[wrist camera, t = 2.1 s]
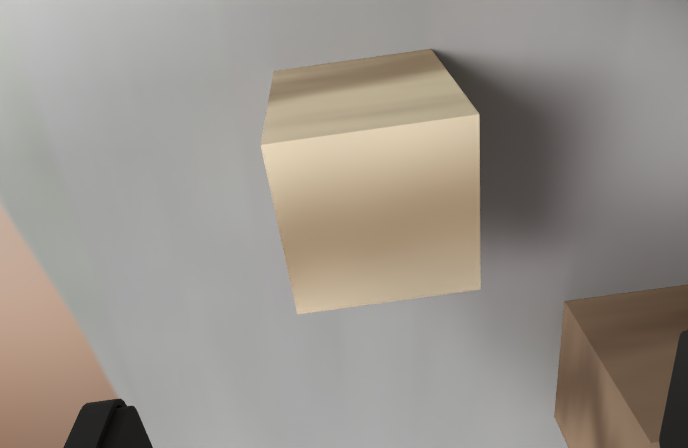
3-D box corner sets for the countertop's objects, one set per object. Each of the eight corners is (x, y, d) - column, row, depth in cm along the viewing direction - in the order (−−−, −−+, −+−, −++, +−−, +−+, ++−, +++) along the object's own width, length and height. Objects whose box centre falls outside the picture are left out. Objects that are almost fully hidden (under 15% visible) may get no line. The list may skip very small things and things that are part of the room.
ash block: (273, 70, 18) (260, 144, 13) (430, 48, 18) (479, 114, 13) (299, 207, 21) (297, 314, 16) (437, 188, 21) (480, 289, 16)
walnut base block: (564, 300, 24) (651, 442, 18) (734, 277, 24) (880, 413, 18) (554, 416, 27) (623, 566, 21) (702, 396, 27) (814, 543, 21)
